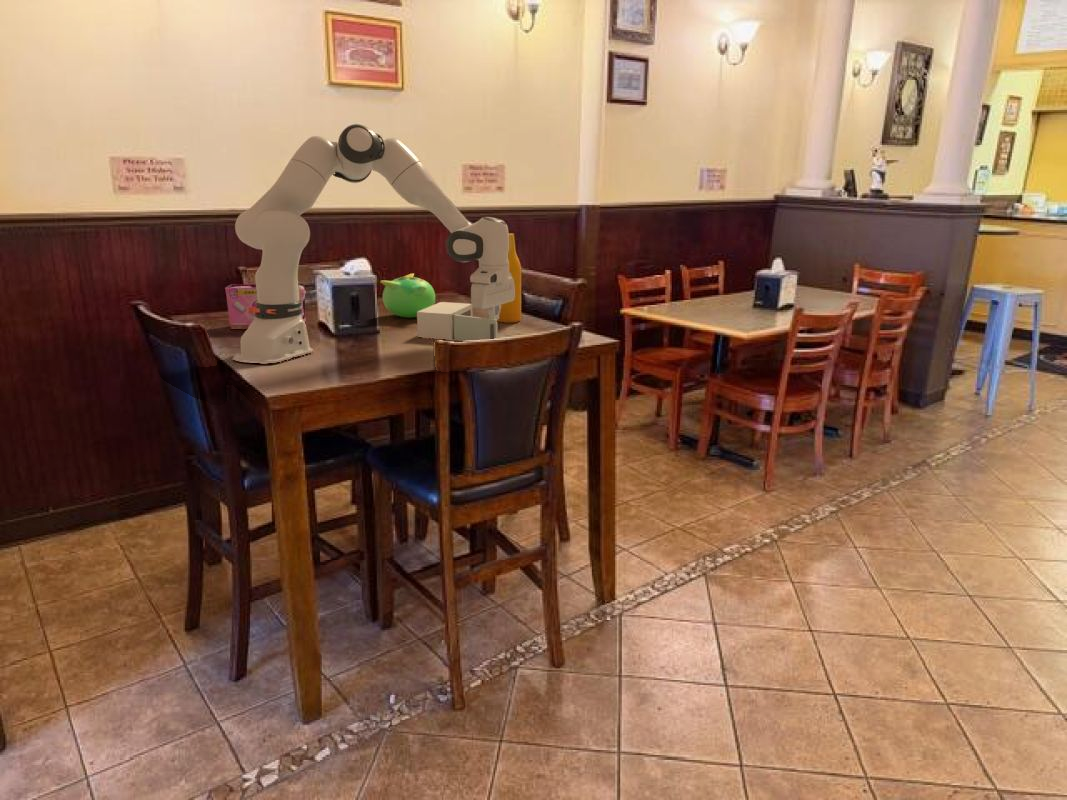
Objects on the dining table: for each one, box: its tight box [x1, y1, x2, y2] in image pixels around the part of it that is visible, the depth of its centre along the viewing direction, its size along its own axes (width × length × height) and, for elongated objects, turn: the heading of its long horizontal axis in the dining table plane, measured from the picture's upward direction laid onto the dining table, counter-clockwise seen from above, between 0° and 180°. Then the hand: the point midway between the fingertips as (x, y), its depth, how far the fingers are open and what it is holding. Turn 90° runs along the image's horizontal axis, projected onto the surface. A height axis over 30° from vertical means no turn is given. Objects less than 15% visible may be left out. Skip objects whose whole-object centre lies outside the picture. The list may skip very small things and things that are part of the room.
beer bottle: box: [497, 232, 522, 324], centre depth 252 cm, size 9×9×29 cm
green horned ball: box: [379, 273, 436, 319], centre depth 258 cm, size 18×17×15 cm
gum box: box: [224, 283, 307, 326], centre depth 242 cm, size 24×8×14 cm, turn 96°
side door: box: [452, 314, 499, 342], centre depth 223 cm, size 16×2×8 cm, turn 61°
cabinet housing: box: [416, 301, 474, 341], centre depth 237 cm, size 20×11×8 cm, turn 163°
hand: (494, 320), depth 225 cm, fingers closed
